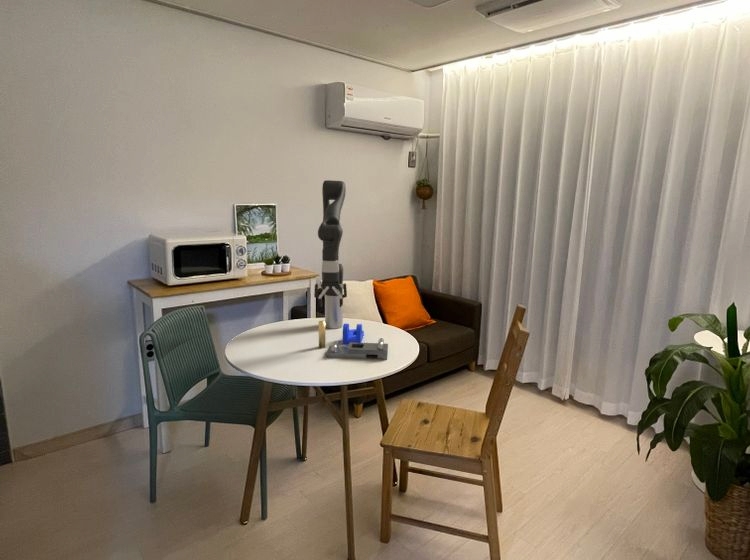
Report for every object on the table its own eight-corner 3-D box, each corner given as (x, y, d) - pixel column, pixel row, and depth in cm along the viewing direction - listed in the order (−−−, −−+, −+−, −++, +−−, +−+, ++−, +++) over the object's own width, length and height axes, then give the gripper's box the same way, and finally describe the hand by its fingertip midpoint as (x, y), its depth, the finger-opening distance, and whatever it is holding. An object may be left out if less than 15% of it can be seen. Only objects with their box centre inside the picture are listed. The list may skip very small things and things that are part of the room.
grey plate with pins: (329, 350, 196) (329, 336, 195) (387, 352, 195) (388, 338, 194) (325, 357, 188) (325, 342, 186) (387, 359, 186) (387, 345, 185)
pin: (319, 345, 202) (319, 320, 199) (326, 346, 201) (325, 320, 199) (318, 348, 199) (317, 322, 196) (324, 348, 199) (324, 322, 196)
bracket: (360, 345, 204) (360, 326, 202) (342, 344, 205) (342, 325, 203) (364, 333, 221) (364, 316, 220) (348, 332, 222) (348, 315, 220)
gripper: (346, 269, 197) (346, 305, 200) (314, 269, 197) (315, 305, 199) (346, 271, 190) (346, 308, 193) (313, 271, 189) (313, 308, 192)
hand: (330, 306), depth 196 cm, fingers open, 8 cm apart
